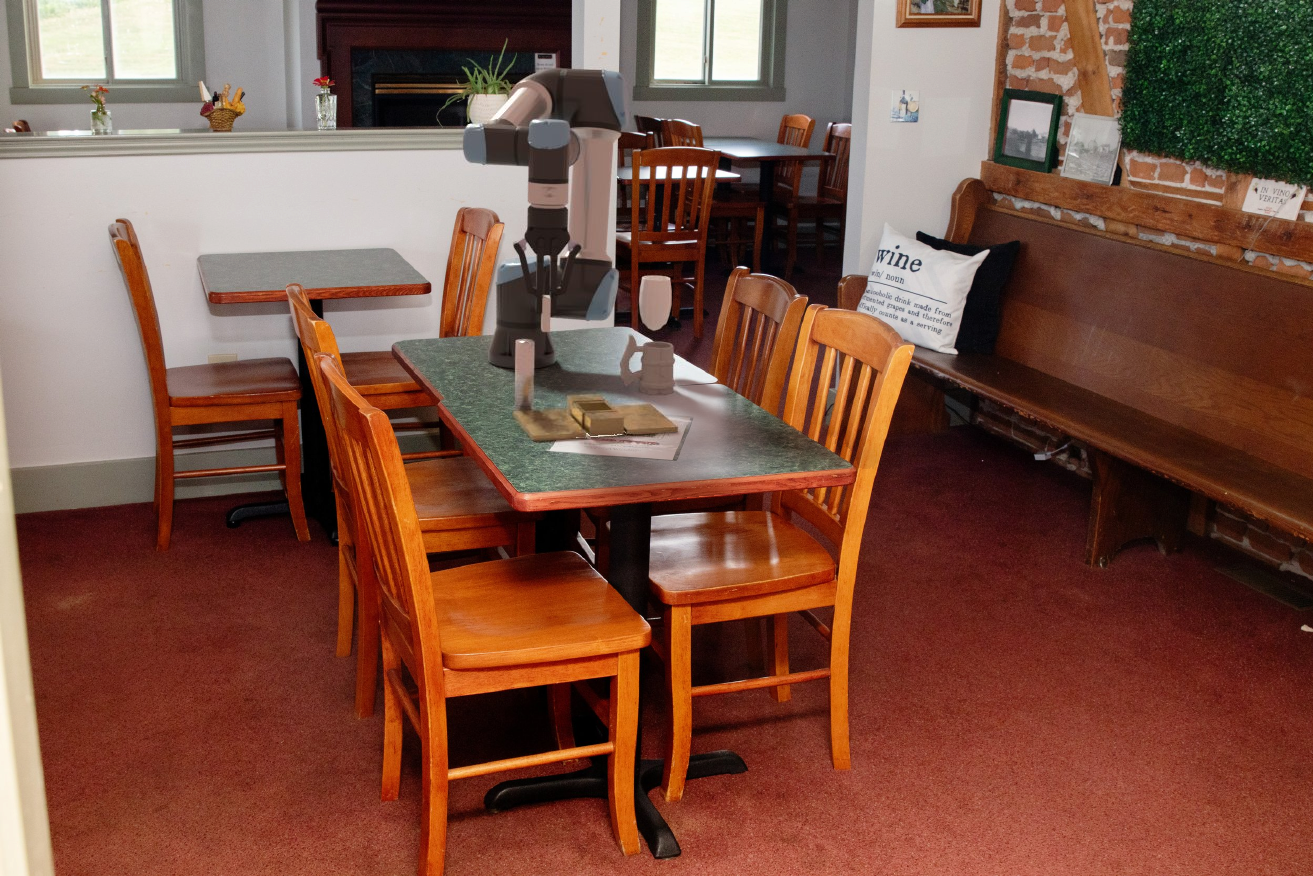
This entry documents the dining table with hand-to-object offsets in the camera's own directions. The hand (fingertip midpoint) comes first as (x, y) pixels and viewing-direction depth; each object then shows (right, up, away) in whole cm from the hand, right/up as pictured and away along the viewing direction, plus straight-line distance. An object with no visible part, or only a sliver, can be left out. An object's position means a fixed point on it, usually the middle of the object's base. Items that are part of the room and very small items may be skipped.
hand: (545, 330), depth 236 cm
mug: (+19, -11, +24) cm, 32 cm away
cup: (+20, -5, +41) cm, 46 cm away
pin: (-5, -15, +4) cm, 17 cm away
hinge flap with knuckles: (+15, -18, 0) cm, 23 cm away
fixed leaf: (+5, -18, -4) cm, 19 cm away
